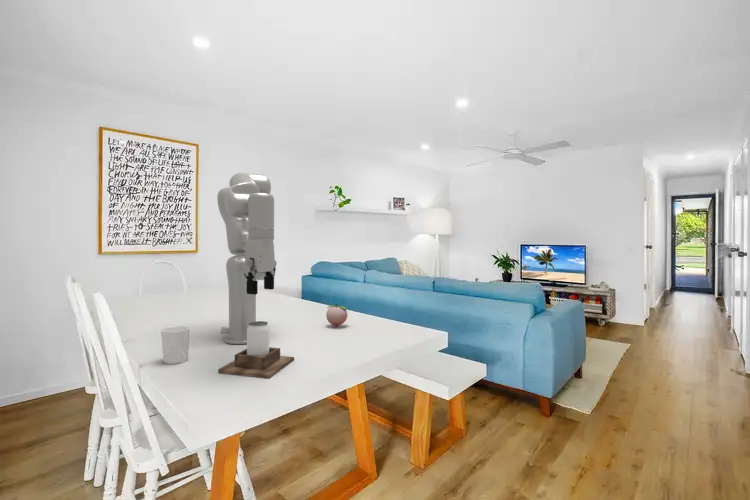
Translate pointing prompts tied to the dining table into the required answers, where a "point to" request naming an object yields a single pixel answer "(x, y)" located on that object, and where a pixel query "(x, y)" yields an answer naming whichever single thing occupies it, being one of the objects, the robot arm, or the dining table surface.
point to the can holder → (257, 364)
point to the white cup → (175, 344)
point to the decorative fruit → (336, 315)
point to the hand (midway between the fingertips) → (260, 291)
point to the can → (258, 338)
